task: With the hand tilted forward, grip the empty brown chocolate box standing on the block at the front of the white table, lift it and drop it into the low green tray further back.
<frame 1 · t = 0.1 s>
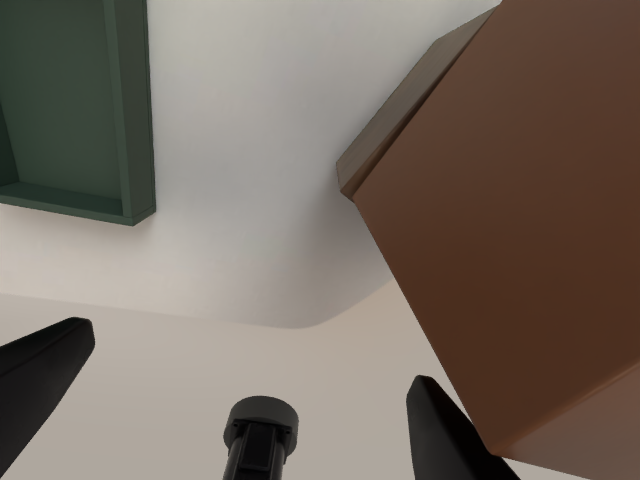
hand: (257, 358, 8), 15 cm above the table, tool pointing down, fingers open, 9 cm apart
chocolate box: (485, 123, 12), point 7 cm above the table, tilted 11°, touching gripper, block
block: (407, 130, 19), on the table
green tray: (72, 87, 19), on the table
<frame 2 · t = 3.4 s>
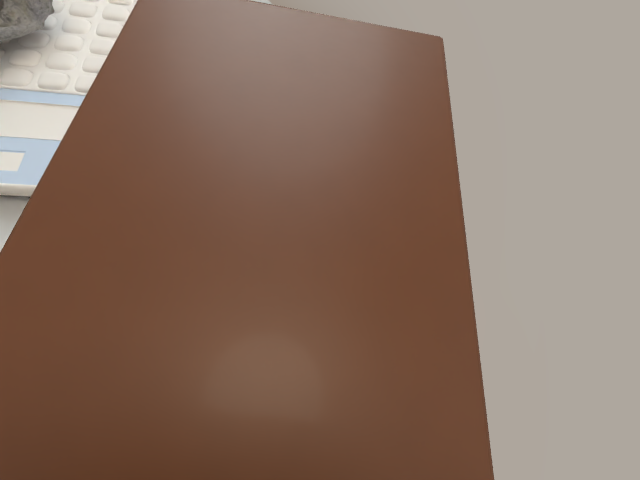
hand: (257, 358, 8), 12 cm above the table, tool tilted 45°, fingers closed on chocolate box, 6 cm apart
calculator: (73, 90, 24), on the table, touching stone
chocolate box: (271, 350, 12), point 7 cm above the table, touching gripper, block
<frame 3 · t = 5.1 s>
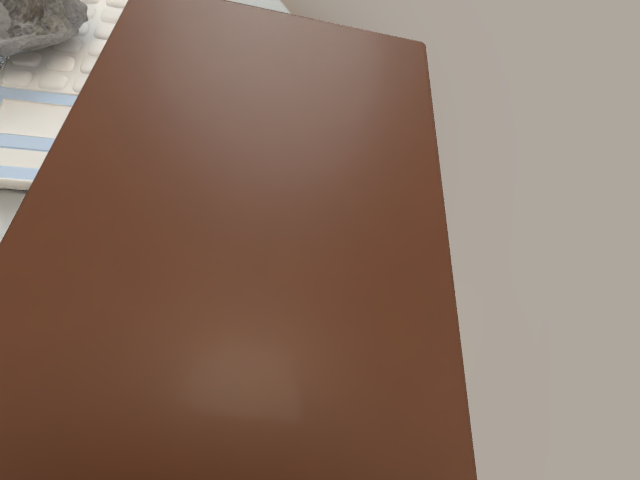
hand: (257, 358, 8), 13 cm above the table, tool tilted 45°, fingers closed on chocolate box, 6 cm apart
calculator: (103, 93, 26), on the table, touching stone
chocolate box: (260, 347, 13), point 9 cm above the table, touching gripper
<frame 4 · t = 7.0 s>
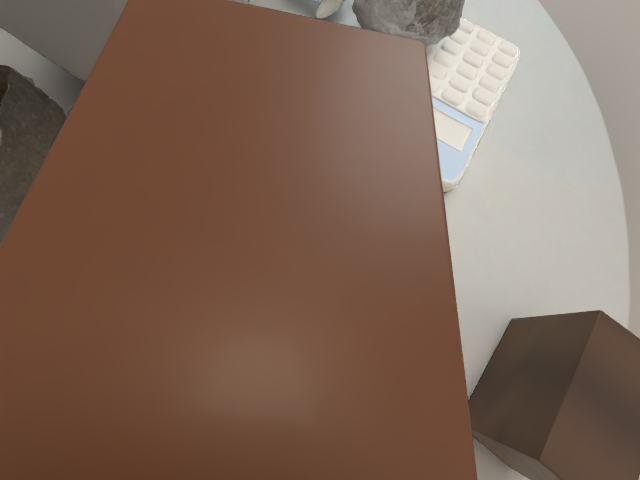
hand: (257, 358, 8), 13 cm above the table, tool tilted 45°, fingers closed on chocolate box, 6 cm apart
calculator: (423, 92, 30), on the table, touching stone
vase: (169, 72, 27), on the table, touching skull
chocolate box: (260, 347, 13), point 9 cm above the table, touching gripper
block: (511, 387, 22), on the table
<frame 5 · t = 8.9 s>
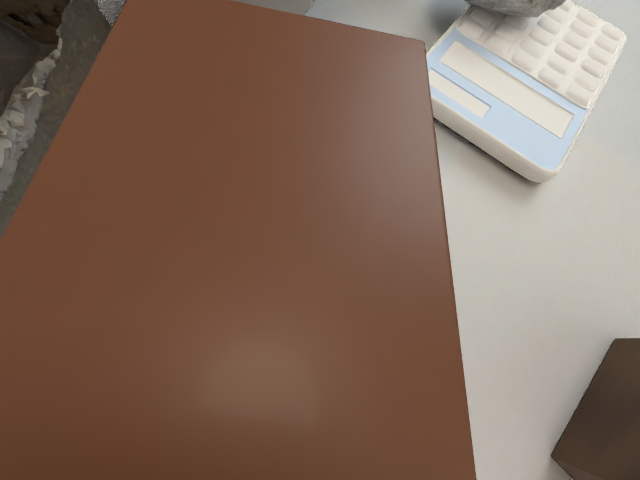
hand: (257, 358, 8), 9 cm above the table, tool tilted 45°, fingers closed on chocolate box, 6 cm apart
calculator: (512, 72, 26), on the table, touching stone
vase: (235, 24, 25), on the table, touching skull
chocolate box: (260, 347, 13), point 5 cm above the table, touching gripper
block: (616, 421, 18), on the table
when the fingers open (6 cm above the table, at t = 10.5 s): chocolate box stays where it is, resting on green tray.
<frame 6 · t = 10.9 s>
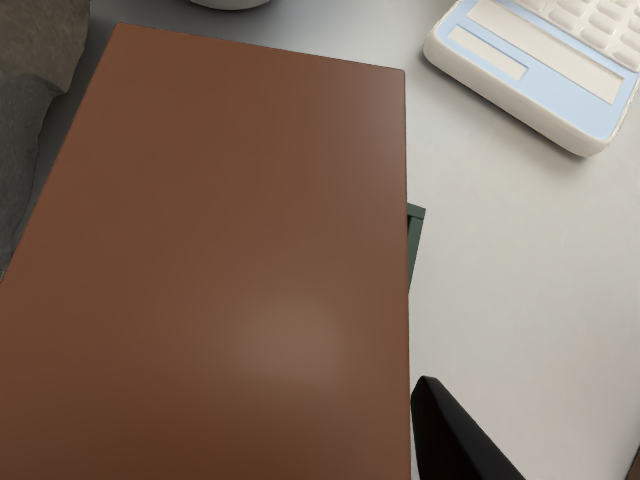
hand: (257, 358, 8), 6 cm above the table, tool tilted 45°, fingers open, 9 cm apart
calculator: (546, 36, 23), on the table, touching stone
chocolate box: (260, 345, 13), resting on green tray
green tray: (270, 338, 14), on the table
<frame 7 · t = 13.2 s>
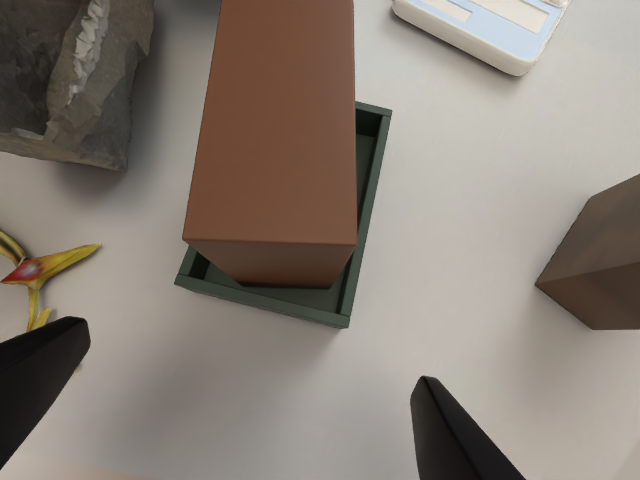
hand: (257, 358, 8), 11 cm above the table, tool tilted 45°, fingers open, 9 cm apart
chocolate box: (290, 208, 20), resting on green tray
block: (591, 258, 21), on the table
green tray: (296, 205, 21), on the table
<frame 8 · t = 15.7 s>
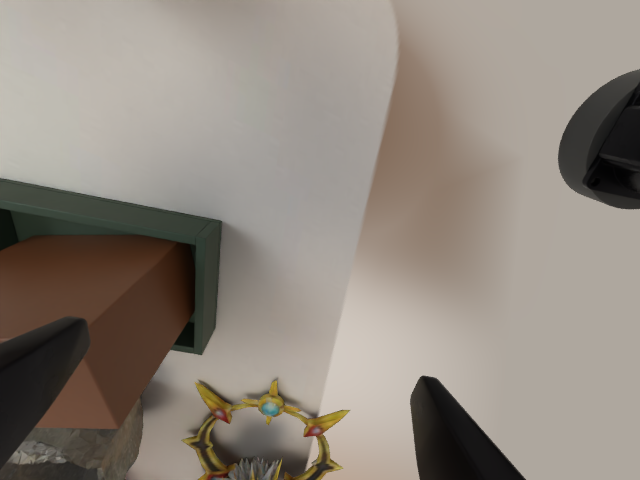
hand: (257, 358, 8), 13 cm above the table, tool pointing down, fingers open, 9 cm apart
chocolate box: (122, 268, 22), resting on green tray
green tray: (119, 261, 22), on the table
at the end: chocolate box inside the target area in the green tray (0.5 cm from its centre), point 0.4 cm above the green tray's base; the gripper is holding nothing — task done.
